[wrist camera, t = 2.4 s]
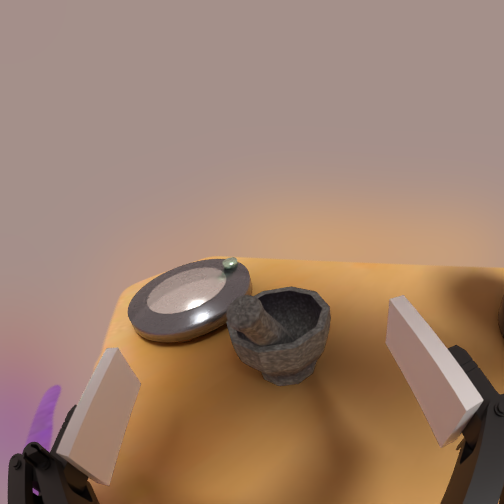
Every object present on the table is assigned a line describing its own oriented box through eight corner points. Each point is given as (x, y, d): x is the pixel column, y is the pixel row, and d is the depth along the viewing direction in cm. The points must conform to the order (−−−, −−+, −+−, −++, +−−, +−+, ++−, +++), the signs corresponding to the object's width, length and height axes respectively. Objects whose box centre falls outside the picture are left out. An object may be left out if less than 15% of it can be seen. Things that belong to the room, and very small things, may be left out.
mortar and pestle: (264, 331, 34) (240, 245, 29) (338, 335, 30) (329, 240, 25) (225, 401, 25) (179, 308, 20) (316, 417, 21) (301, 317, 16)
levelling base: (252, 266, 51) (247, 244, 50) (256, 338, 33) (248, 309, 31) (155, 287, 53) (147, 267, 51) (120, 355, 34) (105, 331, 33)
